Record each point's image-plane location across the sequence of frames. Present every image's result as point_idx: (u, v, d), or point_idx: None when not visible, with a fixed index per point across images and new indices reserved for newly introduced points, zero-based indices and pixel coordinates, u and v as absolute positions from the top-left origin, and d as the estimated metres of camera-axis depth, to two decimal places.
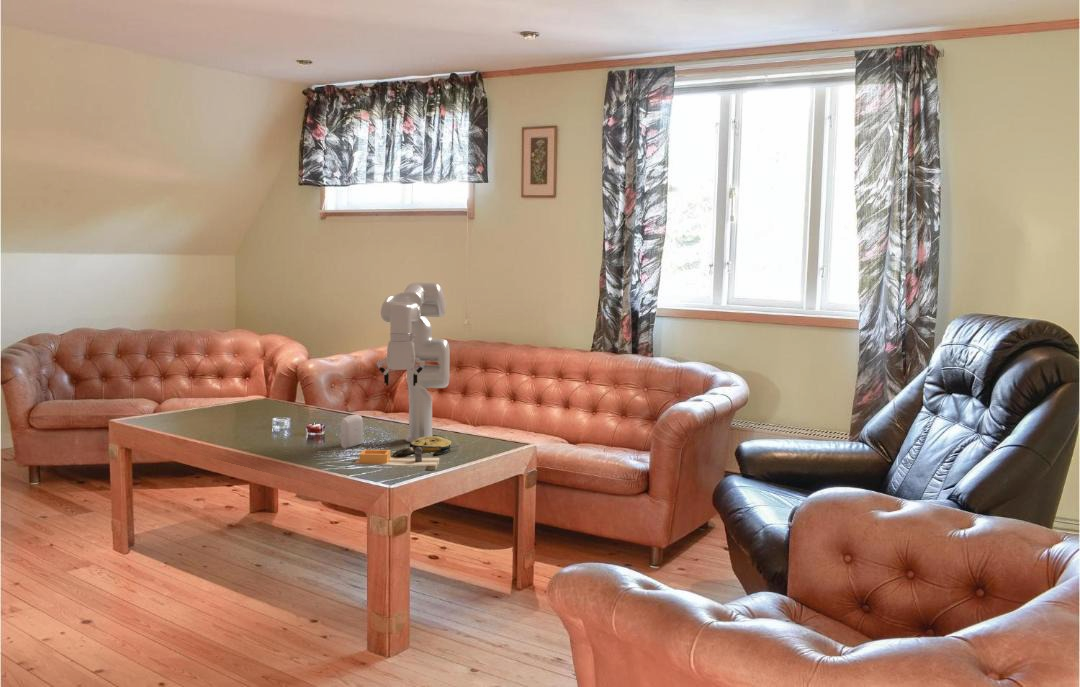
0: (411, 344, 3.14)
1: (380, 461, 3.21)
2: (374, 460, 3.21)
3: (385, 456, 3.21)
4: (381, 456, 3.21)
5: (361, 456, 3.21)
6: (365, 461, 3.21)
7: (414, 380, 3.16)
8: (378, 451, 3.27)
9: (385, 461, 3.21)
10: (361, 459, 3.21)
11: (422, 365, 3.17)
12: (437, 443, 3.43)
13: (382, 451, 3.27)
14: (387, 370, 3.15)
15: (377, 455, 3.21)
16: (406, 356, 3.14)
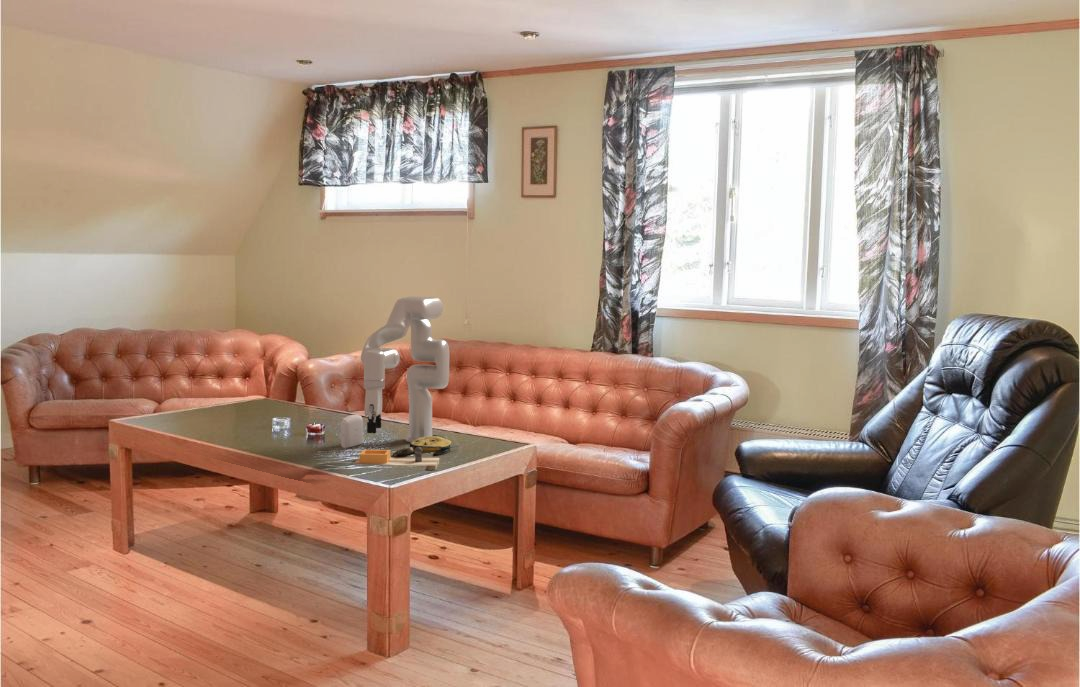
0: None
1: (380, 461, 3.21)
2: (374, 460, 3.21)
3: (385, 456, 3.21)
4: (381, 456, 3.21)
5: (361, 456, 3.21)
6: (365, 461, 3.21)
7: None
8: (378, 451, 3.27)
9: (385, 461, 3.21)
10: (361, 459, 3.21)
11: None
12: (437, 443, 3.43)
13: (382, 451, 3.27)
14: (375, 417, 3.18)
15: (377, 455, 3.21)
16: (381, 400, 3.24)
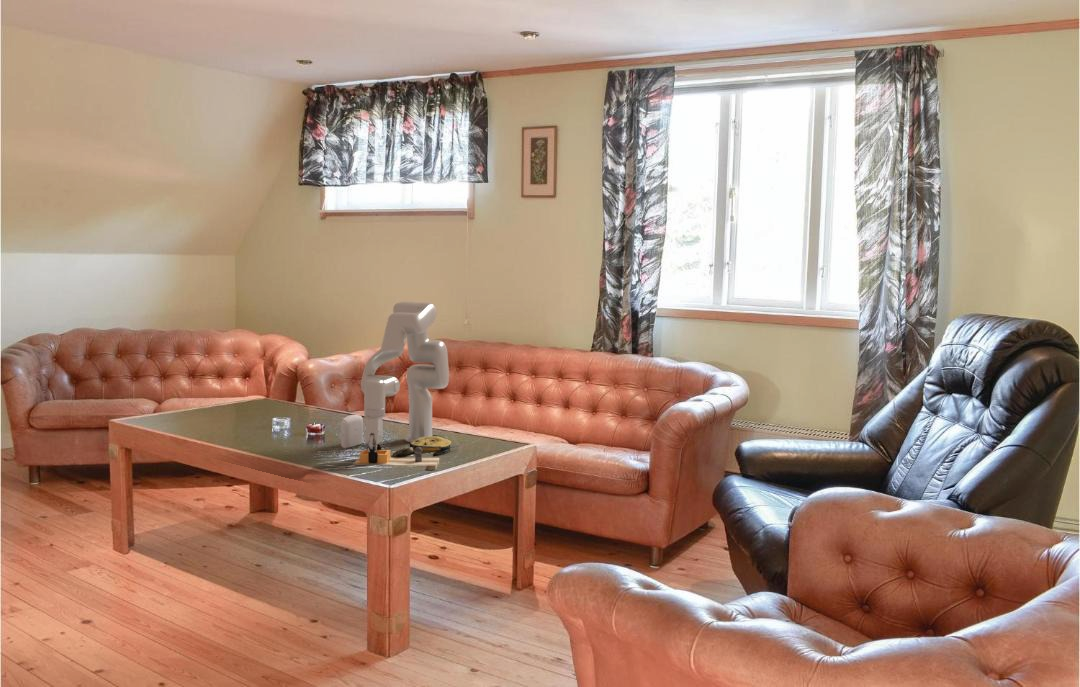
0: None
1: (380, 461, 3.21)
2: None
3: (385, 456, 3.21)
4: (381, 456, 3.21)
5: (361, 456, 3.21)
6: (365, 461, 3.21)
7: None
8: (378, 451, 3.27)
9: (385, 461, 3.21)
10: (361, 459, 3.21)
11: None
12: (437, 443, 3.43)
13: (382, 451, 3.27)
14: (376, 447, 3.20)
15: (377, 455, 3.21)
16: (382, 428, 3.25)
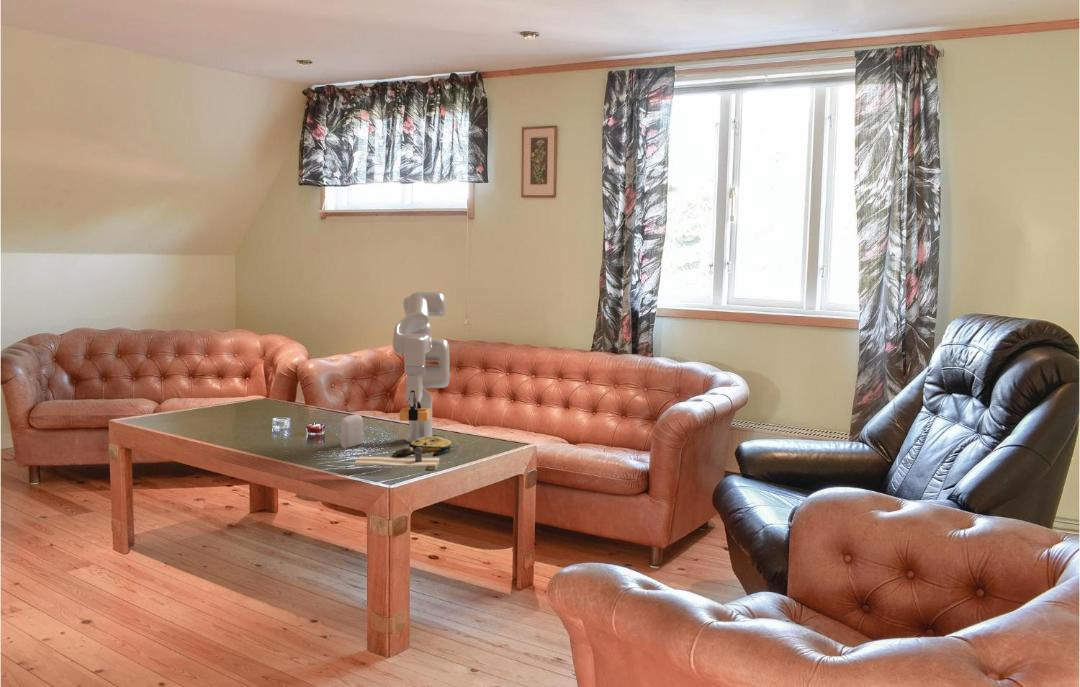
0: None
1: (420, 419, 3.19)
2: None
3: (425, 414, 3.19)
4: (421, 414, 3.19)
5: (401, 414, 3.19)
6: (405, 419, 3.19)
7: None
8: (418, 409, 3.25)
9: (425, 419, 3.19)
10: (401, 417, 3.19)
11: None
12: (437, 443, 3.43)
13: (422, 409, 3.25)
14: (416, 405, 3.18)
15: None
16: (422, 386, 3.24)
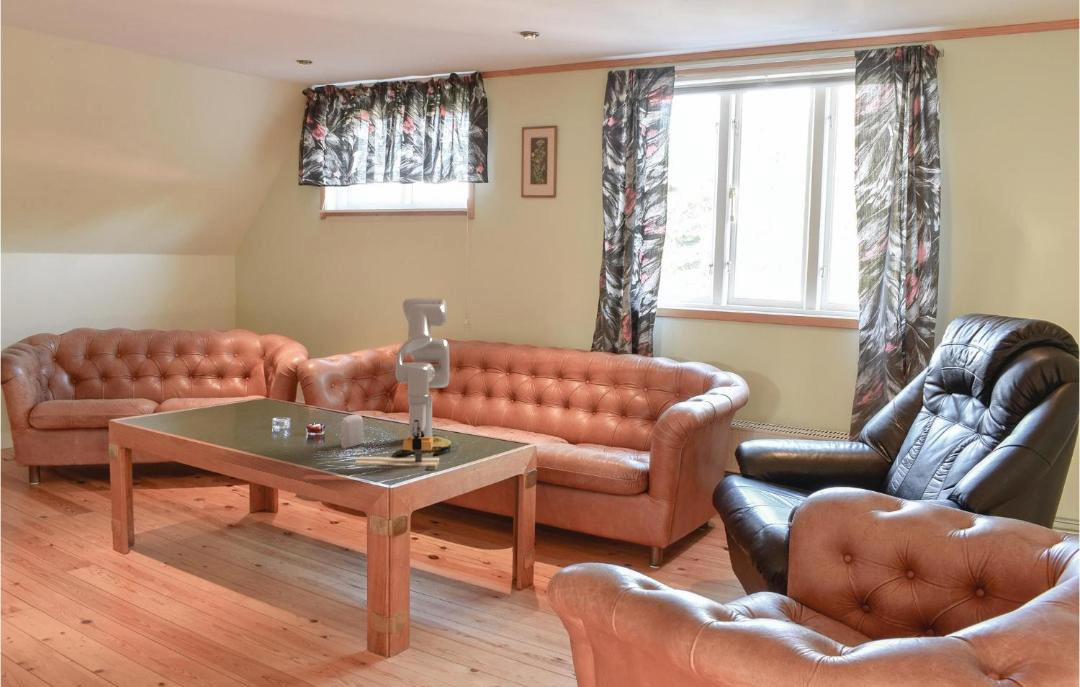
0: None
1: (424, 448, 3.20)
2: None
3: (429, 443, 3.20)
4: (425, 443, 3.20)
5: (405, 443, 3.20)
6: (409, 448, 3.20)
7: None
8: (421, 438, 3.26)
9: (429, 448, 3.20)
10: (405, 446, 3.20)
11: None
12: (437, 443, 3.43)
13: (425, 438, 3.26)
14: (420, 434, 3.20)
15: (421, 442, 3.20)
16: (425, 415, 3.25)
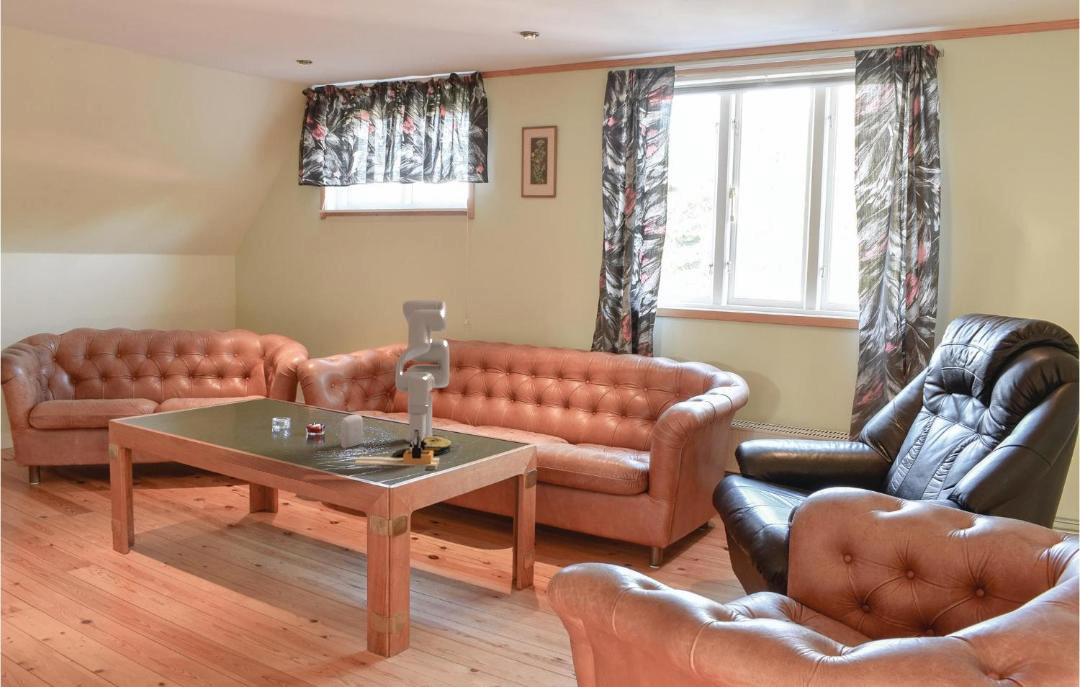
0: None
1: (424, 462, 3.21)
2: (418, 461, 3.21)
3: (429, 457, 3.21)
4: (425, 457, 3.21)
5: (405, 457, 3.21)
6: (409, 462, 3.21)
7: (424, 446, 3.29)
8: None
9: (429, 462, 3.21)
10: (405, 460, 3.21)
11: None
12: (437, 443, 3.43)
13: (425, 452, 3.27)
14: (420, 443, 3.19)
15: (421, 456, 3.21)
16: (425, 425, 3.25)
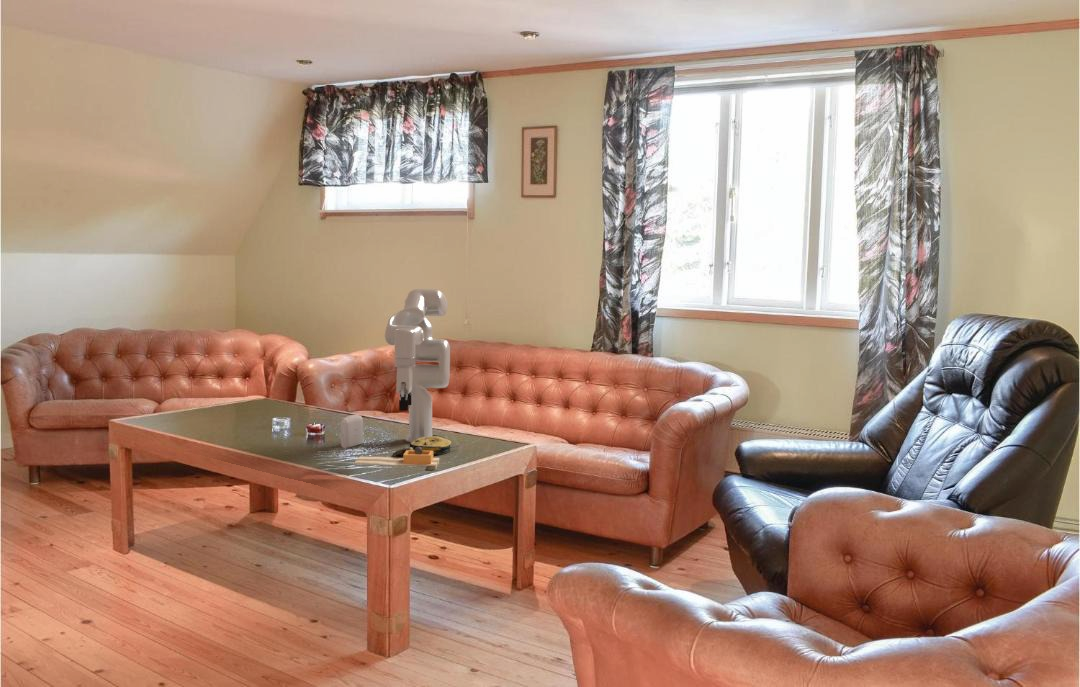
0: None
1: (424, 462, 3.21)
2: (418, 461, 3.21)
3: (429, 457, 3.21)
4: (425, 457, 3.21)
5: (405, 457, 3.21)
6: (409, 462, 3.21)
7: (411, 399, 3.30)
8: None
9: (429, 462, 3.21)
10: (405, 460, 3.21)
11: None
12: (437, 443, 3.43)
13: (425, 452, 3.27)
14: (407, 395, 3.20)
15: (421, 456, 3.21)
16: None
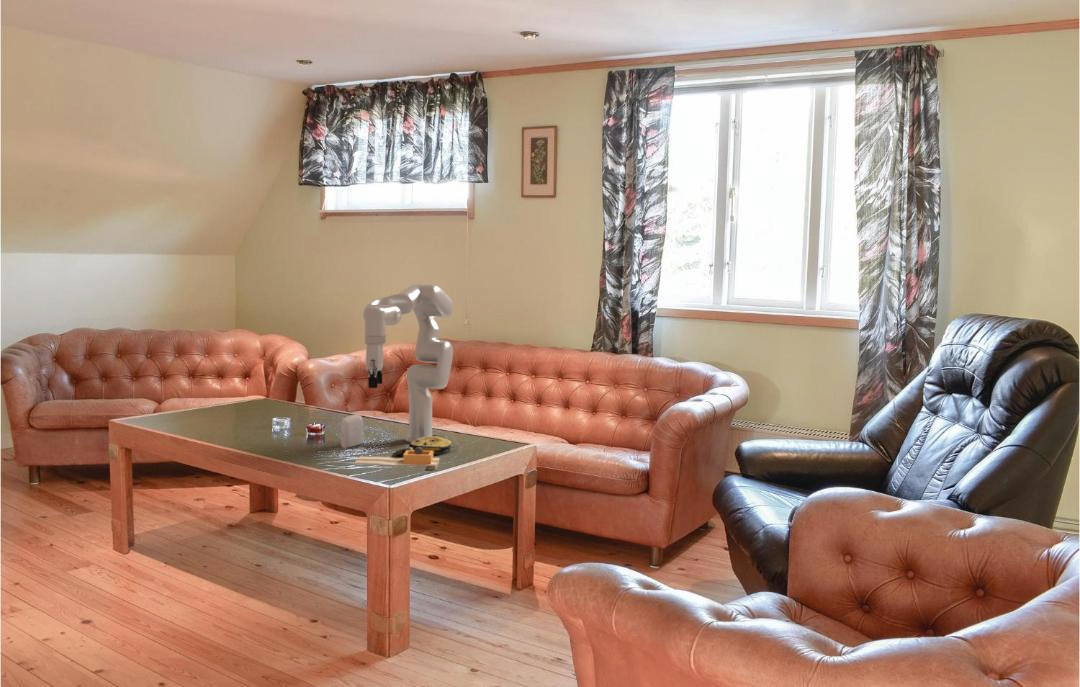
0: None
1: (424, 462, 3.21)
2: (418, 461, 3.21)
3: (429, 457, 3.21)
4: (425, 457, 3.21)
5: (405, 457, 3.21)
6: (409, 462, 3.21)
7: None
8: None
9: (429, 462, 3.21)
10: (405, 460, 3.21)
11: None
12: (437, 443, 3.43)
13: (425, 452, 3.27)
14: (376, 372, 3.23)
15: (421, 456, 3.21)
16: (382, 356, 3.29)
